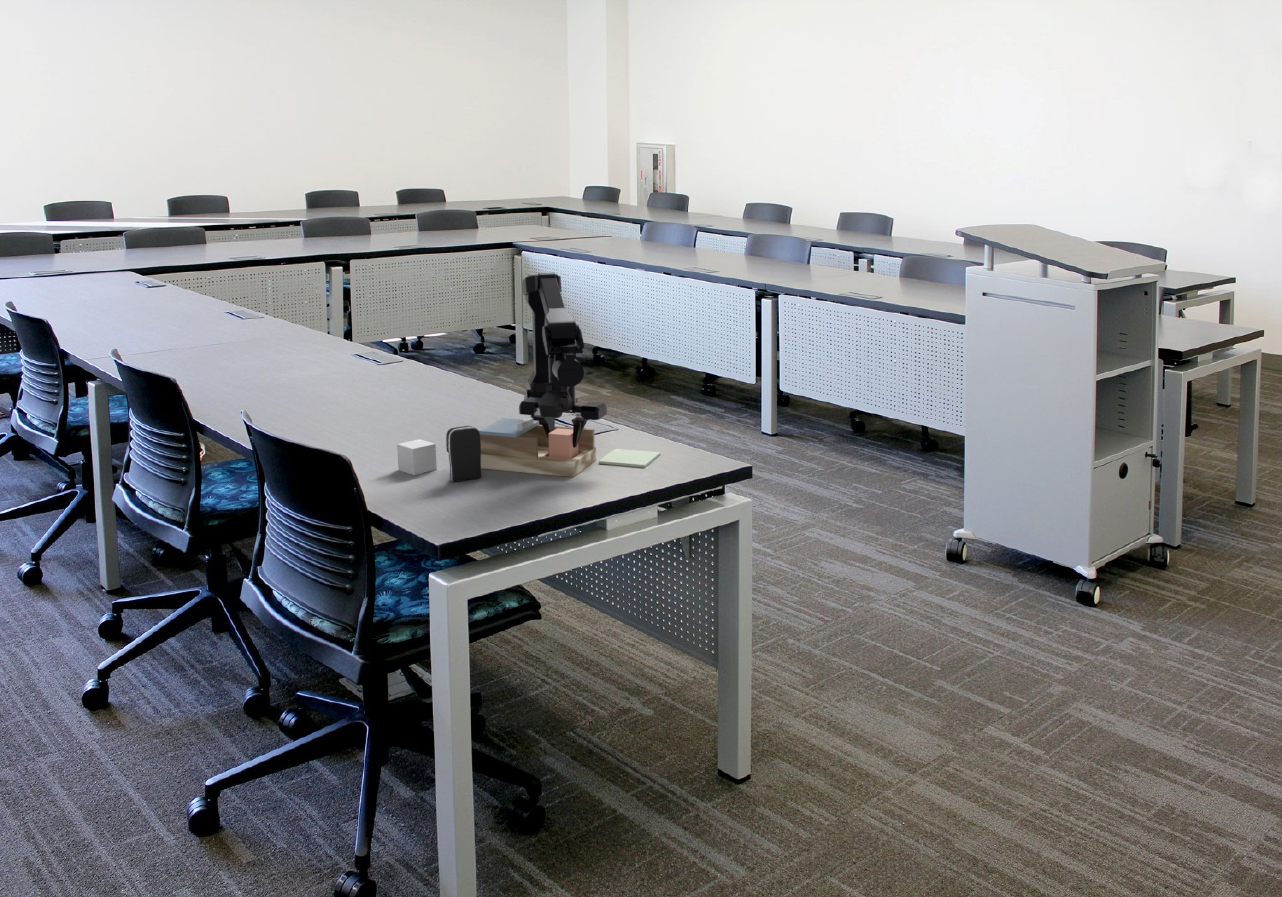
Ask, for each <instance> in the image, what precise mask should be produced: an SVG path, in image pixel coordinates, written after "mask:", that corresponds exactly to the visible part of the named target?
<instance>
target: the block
mask: <svg viewBox="0 0 1282 897" xmlns="http://www.w3.org/2000/svg"><path fill="white" fill-rule="evenodd" d="M548 436H549V457H557V458H569V459H573V458H575V457H576V456H577V455H579V453H578V444H577V446H576V447H575V448H573V429H561V428H557V429H555V430H553V431H552V432H550V433H549V434H548Z"/></svg>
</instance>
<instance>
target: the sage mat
mask: <svg viewBox="0 0 1282 897" xmlns="http://www.w3.org/2000/svg"><path fill="white" fill-rule="evenodd" d="M660 456H661V452H658V451H650V450H649V451H648V450H635V449H625V448H624V449H622V448H614V449H613V450H611V451H610V452H609V453H607V454H606V455H605V456H603V457H602V458H601V459H599V460H598V464H601V465H611V466H622V467H623V466H624V467H632V468H644V469H646V467H648V466H649V465H651V463H653V461H655V460H656V459H658V458H659V457H660Z"/></svg>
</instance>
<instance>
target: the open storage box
mask: <svg viewBox="0 0 1282 897" xmlns="http://www.w3.org/2000/svg"><path fill="white" fill-rule="evenodd" d="M557 428H561V429H573V426H572V427H571V426H561V425H555V429H557ZM480 441H481V470H482V469H483V470H492V471H493V470H494V471H495V470H496V471H505V472H514V473H515V472H517V473H528V474H537V475H549V476H559V477H568V478H569V477H570V478H574V477H575V476H577V475H578V474H579V473H581V472H582V471H583V470H585V469H587V468H588V467H589V466H591V465H592V464H593V463H595V462H596V461H597V447H596V446H595V429H594V428H585V427H584V428H583V431H582V433H581V436H580V439H579V441H578V453H579V455H577V456H576V457H575V458H573V459H569V458H557V457H549V440H548V437H547V435H546V432H545V430H544V428H543V426H542V425H537V426H535V427H534V428H532V429H530V430H529V431H527V432H525V433H523V434H522V435H520V436H518V437H504V436H492V435H480Z"/></svg>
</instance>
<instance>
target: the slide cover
mask: <svg viewBox="0 0 1282 897" xmlns="http://www.w3.org/2000/svg"><path fill="white" fill-rule="evenodd" d="M537 425H539V421H534V420H533V418H531V417H527V418H526V419H525V418H524V419H520V418H505V417H503V418H501V419H499V420H498V421H495V422H493V423H491V424H490V425H487V426H485V427H484V428H482V429H480V430H479V432H480V435H492V436H504V437H518V436H520V435H522V434H523V433H525V432H527V431H529V430H530V429H532V428H534V427H535V426H537Z"/></svg>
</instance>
